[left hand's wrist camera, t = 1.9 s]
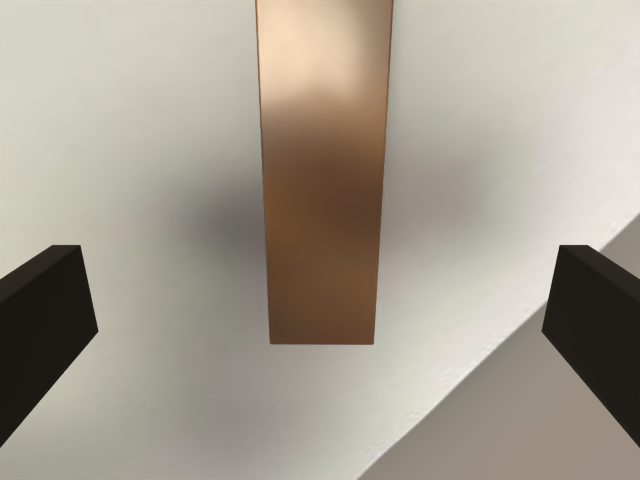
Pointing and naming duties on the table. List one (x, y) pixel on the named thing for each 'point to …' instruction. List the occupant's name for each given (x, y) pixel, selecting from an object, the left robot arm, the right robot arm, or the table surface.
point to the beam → (323, 164)
